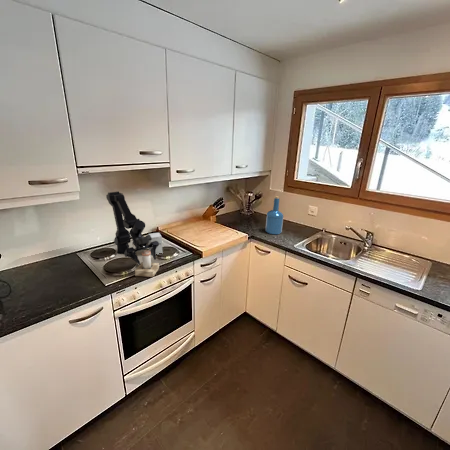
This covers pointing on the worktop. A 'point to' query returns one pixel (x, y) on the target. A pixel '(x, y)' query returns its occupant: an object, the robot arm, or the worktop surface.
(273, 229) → the wine bottle
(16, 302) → the worktop surface
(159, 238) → the supplement box
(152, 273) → the beige square frame
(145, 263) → the white pink cylinder
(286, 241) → the worktop surface
